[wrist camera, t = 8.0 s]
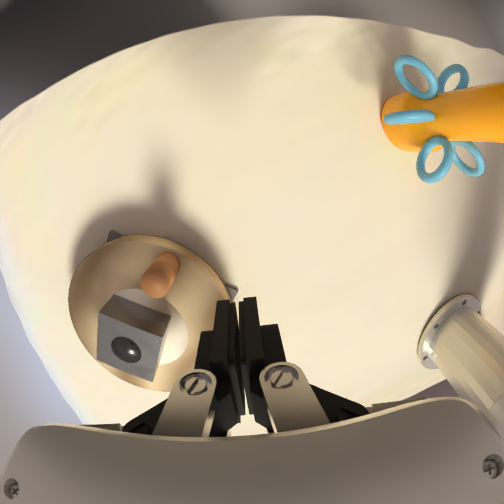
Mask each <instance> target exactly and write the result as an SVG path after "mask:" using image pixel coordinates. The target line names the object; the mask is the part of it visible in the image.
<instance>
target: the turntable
mask: <svg viewBox="0 0 504 504" xmlns="http://www.w3.org/2000/svg"><path fill="white" fill-rule="evenodd" d="M113 294H116V295H118V296H120V297H123V298H125V299H128V300H130V301H133V302H135V303H138V304H141V305H143V306H146V307H148V308H151V309H154V310H157V311H159V312H162V313H165V314H168V315H170V316H172V317H171V321H170V324H169V328H168V332H167V336H166V340H165V344H164V348H163V352H162V356H161V360H160V363H159V366H158V369H157V371H156V374H155V377H154V380H153V382H150V381H147V380H145V379H142V378H139V377H137V376H134V375H131V374H129V373H126V372H124V371H121V370H119V369H116V368H114V367H112V366H109V365H107V364H105V363H103V362H100V361H98V360H96V356H97V327H98V312H99V311H100V310H101V309H102V307H103V306H104V305H105V304H106V303H107V301H108V300H109V299H110V298H111V297H112V296H113ZM228 299H230V297H229V294H228V292H227V290H226V288H225V286H224V284H223V283H222V281H221V280H220V278H219V277H218V275H217V274H216V273H215V272H214V271H213V270H212V268H211V267H210V266H209V265H208V264H207V263H206V262H205V261H203V260H202V259H201V258H200V257H199V256H197V255H196V254H195V253H193V252H192V251H190V250H189V249H187V248H185V247H183V246H181V245H180V244H177V243H175V242H172V241H170V240H167V239H164V238H160V237H156V236H149V235H129V236H123V237H120V238H117V239H114V240H111V241H109V242H108V243H106V244H104V245H102V246H101V247H99V248H98V249H96V250H95V251H94V252H92V253H91V254H90V255H88V256H87V257H86V258H85V259H84V260H83V261H82V262H81V263H80V265H79V266H78V268H77V269H76V271H75V272H74V275H73V277H72V280H71V283H70V288H69V297H68V302H69V311H70V316H71V320H72V323H73V326H74V329H75V331H76V333H77V335H78V337H79V339H80V340H81V342H82V344H83V345H84V347H85V348H86V349H87V351H88V352H89V353H90V354H91V355H92V357H93V358H94V359H95V360H96V361H97V362H98V363H99V364H101V365H102V366H103V367H104V368H105V369H107V370H108V371H109V372H111V373H112V374H114V375H115V376H117V377H118V378H120V379H122V380H124V381H126V382H128V383H131V384H133V385H135V386H138V387H142V388H145V389H149V390H154V391H163V392H171V390H172V388H173V386H174V383H175V381H176V380H177V378H178V377H179V376H180V375H181V374H183V373H185V372H187V371H190V370H194V366H195V361H196V355H197V350H198V344H199V339H200V334H201V331H210V330H213V326H214V319H215V311H216V303H217V301H218V300H228ZM230 303H231V300H230Z"/></svg>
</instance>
